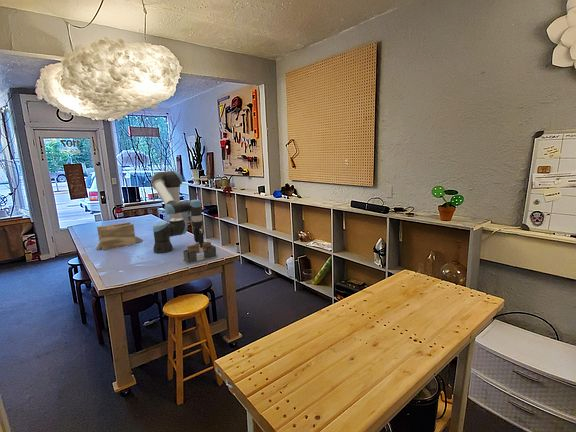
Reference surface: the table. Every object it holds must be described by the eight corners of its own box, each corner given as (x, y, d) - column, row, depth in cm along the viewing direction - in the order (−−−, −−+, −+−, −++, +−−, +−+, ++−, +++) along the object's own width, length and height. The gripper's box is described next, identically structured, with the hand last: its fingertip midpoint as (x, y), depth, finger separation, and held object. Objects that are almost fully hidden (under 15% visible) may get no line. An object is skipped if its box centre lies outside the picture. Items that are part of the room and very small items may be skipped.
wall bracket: (130, 261, 279) (96, 249, 260) (129, 260, 282) (95, 247, 264) (142, 239, 283) (110, 225, 264) (141, 238, 286) (109, 225, 268)
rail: (187, 253, 227) (187, 246, 225) (209, 248, 237) (208, 241, 236) (190, 255, 224) (189, 247, 222) (211, 250, 234) (210, 242, 233)
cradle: (100, 246, 271) (97, 226, 267) (132, 240, 287) (129, 222, 283) (103, 250, 260) (99, 229, 256) (136, 243, 276) (133, 224, 273)
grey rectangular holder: (183, 260, 228) (182, 250, 227) (211, 253, 243) (210, 244, 241) (188, 264, 221) (187, 253, 219) (217, 256, 235) (216, 246, 233)
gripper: (187, 219, 230) (190, 249, 235) (197, 223, 217) (200, 254, 222) (197, 218, 235) (199, 247, 239) (207, 221, 222) (209, 252, 226)
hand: (200, 251), depth 230 cm, fingers closed on rail, 4 cm apart
